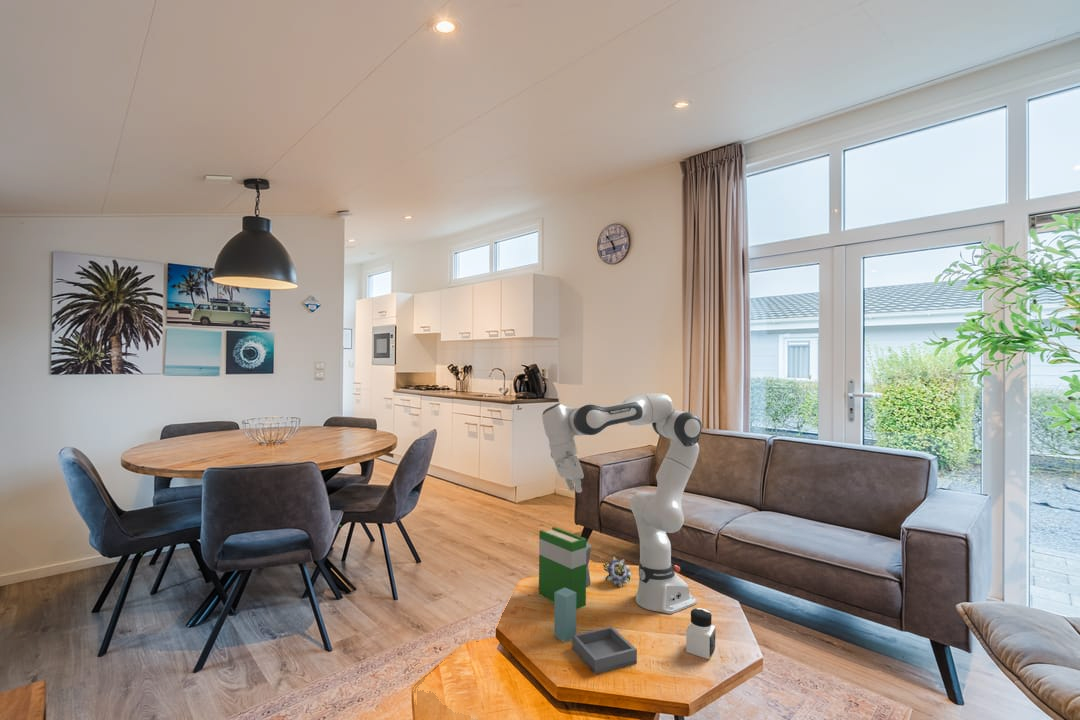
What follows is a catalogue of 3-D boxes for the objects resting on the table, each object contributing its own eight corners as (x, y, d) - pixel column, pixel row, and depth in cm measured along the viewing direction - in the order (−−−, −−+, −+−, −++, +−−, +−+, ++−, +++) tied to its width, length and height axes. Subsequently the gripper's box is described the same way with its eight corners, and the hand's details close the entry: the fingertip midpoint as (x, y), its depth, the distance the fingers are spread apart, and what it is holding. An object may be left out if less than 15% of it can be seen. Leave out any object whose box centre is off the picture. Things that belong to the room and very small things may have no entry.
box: (611, 638, 156) (611, 626, 156) (636, 663, 143) (636, 649, 144) (572, 648, 151) (572, 635, 151) (595, 674, 138) (595, 660, 138)
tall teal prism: (564, 630, 161) (564, 587, 161) (576, 636, 158) (576, 592, 158) (554, 636, 158) (554, 592, 158) (565, 642, 154) (566, 597, 154)
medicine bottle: (710, 660, 145) (710, 619, 146) (685, 652, 149) (686, 612, 149) (715, 648, 151) (715, 609, 152) (692, 641, 155) (692, 603, 155)
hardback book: (538, 594, 187) (539, 530, 187) (553, 588, 192) (553, 526, 192) (571, 611, 174) (571, 543, 174) (585, 605, 178) (586, 538, 179)
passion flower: (619, 600, 194) (608, 580, 189) (604, 584, 204) (593, 565, 199) (640, 581, 197) (629, 561, 193) (624, 566, 207) (614, 547, 202)
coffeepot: (596, 588, 192) (597, 542, 192) (574, 591, 189) (574, 544, 190) (582, 573, 207) (583, 530, 207) (561, 575, 204) (562, 531, 204)
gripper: (580, 449, 160) (593, 490, 158) (565, 448, 179) (576, 485, 178) (562, 454, 158) (575, 497, 157) (549, 453, 178) (560, 491, 176)
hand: (575, 490), depth 167 cm, fingers open, 8 cm apart
